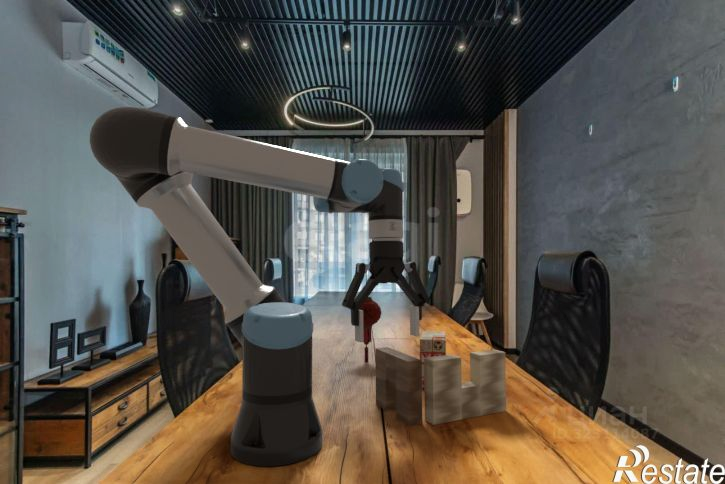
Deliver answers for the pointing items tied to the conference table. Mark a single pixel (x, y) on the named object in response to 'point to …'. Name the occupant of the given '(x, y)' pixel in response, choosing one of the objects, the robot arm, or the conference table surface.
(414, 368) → the tall brown wooden block
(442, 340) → the red and beige box
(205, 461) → the conference table surface
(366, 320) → the lantern
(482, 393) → the grey notched block
